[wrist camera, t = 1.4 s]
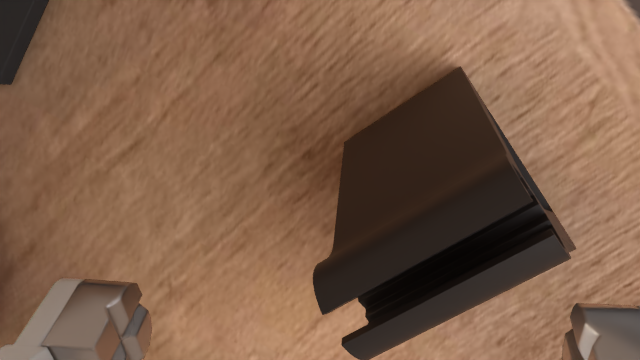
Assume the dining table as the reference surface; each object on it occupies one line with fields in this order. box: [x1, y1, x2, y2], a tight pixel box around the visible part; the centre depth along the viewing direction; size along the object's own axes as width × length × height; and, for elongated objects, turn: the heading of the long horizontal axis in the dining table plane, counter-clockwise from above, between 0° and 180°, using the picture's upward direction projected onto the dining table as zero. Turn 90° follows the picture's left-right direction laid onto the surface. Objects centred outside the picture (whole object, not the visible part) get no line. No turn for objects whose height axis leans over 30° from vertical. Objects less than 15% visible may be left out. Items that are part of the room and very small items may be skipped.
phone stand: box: [313, 66, 576, 360], centre depth 20 cm, size 9×6×12 cm, turn 33°
